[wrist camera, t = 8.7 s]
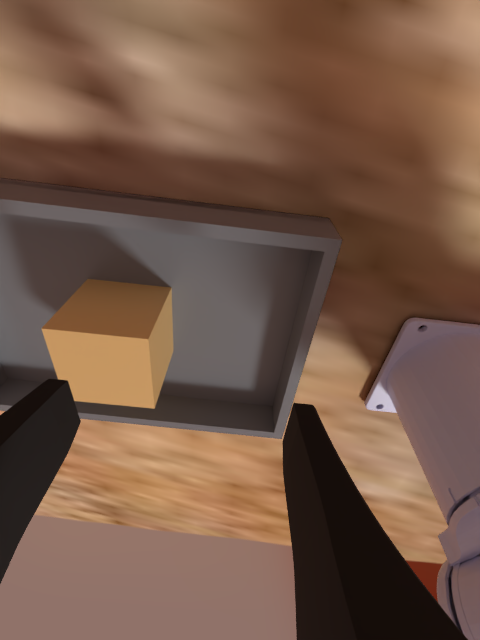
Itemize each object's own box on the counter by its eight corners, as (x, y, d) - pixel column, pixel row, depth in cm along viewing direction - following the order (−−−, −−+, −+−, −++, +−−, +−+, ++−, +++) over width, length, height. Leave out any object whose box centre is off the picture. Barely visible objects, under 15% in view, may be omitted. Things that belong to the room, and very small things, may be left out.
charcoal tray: (328, 218, 16) (342, 240, 13) (278, 403, 24) (281, 438, 21) (-82, 167, 15) (-148, 181, 13) (9, 375, 23) (-21, 408, 21)
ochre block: (171, 287, 17) (148, 339, 14) (173, 350, 20) (154, 408, 16) (88, 278, 17) (41, 328, 14) (100, 343, 20) (64, 400, 16)
